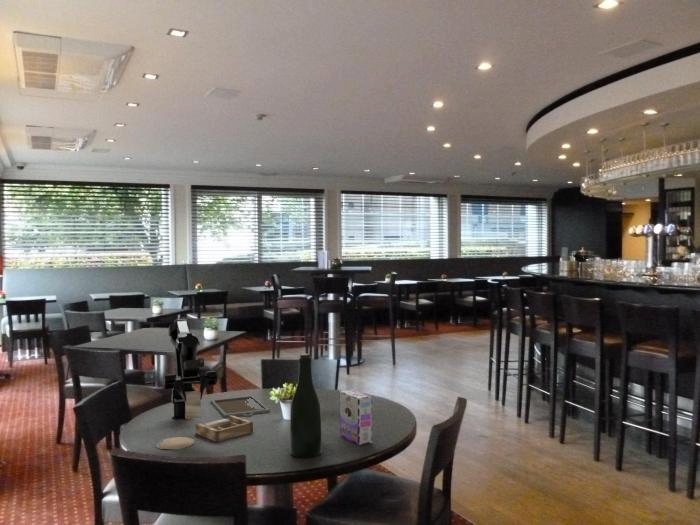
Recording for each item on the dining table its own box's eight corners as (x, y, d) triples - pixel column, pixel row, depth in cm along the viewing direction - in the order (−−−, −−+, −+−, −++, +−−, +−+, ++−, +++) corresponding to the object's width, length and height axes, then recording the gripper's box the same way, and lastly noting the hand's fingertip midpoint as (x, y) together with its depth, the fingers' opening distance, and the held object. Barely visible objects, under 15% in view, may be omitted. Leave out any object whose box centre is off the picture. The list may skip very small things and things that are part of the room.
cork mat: (148, 449, 195) (148, 448, 195) (165, 437, 208) (165, 436, 208) (185, 450, 194) (185, 449, 194) (199, 438, 207) (199, 437, 207)
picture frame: (252, 395, 266) (271, 410, 239) (252, 398, 266) (271, 414, 239) (210, 399, 258) (225, 416, 231) (210, 403, 258) (225, 420, 231)
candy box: (372, 443, 200) (372, 396, 200) (358, 446, 197) (358, 398, 197) (353, 432, 212) (352, 388, 212) (339, 435, 209) (338, 390, 209)
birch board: (185, 417, 206) (185, 392, 206) (199, 415, 208) (199, 390, 208) (186, 419, 204) (186, 393, 203) (200, 417, 206) (200, 392, 205)
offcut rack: (195, 433, 213) (195, 423, 213) (231, 424, 224) (231, 415, 224) (216, 441, 203) (216, 431, 203) (252, 431, 214) (252, 422, 214)
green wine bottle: (293, 460, 184) (292, 357, 184) (287, 449, 194) (286, 352, 194) (325, 456, 187) (324, 355, 187) (317, 446, 197) (317, 350, 197)
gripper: (164, 352, 206) (167, 389, 196) (216, 349, 213) (222, 384, 203) (162, 370, 213) (165, 407, 203) (213, 366, 220) (218, 401, 210)
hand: (193, 399), depth 205 cm, fingers closed on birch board, 5 cm apart
